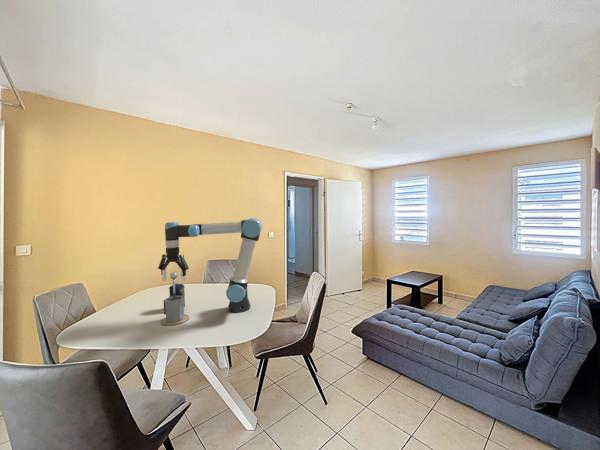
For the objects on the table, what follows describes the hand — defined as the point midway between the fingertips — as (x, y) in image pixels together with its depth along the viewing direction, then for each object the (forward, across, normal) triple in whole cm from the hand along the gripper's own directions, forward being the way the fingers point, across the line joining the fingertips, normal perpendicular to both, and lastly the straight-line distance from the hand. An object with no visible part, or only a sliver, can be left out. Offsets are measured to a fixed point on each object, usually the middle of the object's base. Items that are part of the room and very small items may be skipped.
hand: (173, 280), depth 156 cm
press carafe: (+25, 0, 0) cm, 25 cm away
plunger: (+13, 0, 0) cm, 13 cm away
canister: (+25, +12, -17) cm, 33 cm away
